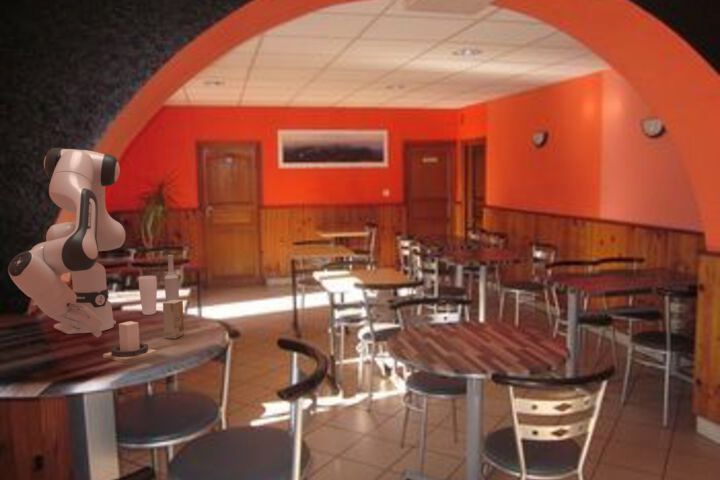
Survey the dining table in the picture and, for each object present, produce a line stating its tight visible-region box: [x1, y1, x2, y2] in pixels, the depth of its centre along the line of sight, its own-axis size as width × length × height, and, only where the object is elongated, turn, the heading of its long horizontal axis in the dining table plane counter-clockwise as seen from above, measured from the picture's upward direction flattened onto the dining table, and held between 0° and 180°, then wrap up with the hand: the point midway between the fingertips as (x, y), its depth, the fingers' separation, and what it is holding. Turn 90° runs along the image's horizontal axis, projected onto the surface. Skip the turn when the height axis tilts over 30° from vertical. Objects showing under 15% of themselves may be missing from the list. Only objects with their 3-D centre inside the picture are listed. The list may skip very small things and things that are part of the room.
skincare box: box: [162, 299, 185, 340], centre depth 203 cm, size 6×4×12 cm
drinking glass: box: [138, 275, 158, 316], centre depth 239 cm, size 7×7×15 cm
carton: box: [118, 320, 140, 351], centre depth 182 cm, size 4×4×9 cm
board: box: [102, 342, 158, 364], centre depth 182 cm, size 11×11×2 cm
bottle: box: [163, 254, 180, 302], centre depth 227 cm, size 5×5×25 cm
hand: (88, 331), depth 171 cm, fingers open, 8 cm apart
